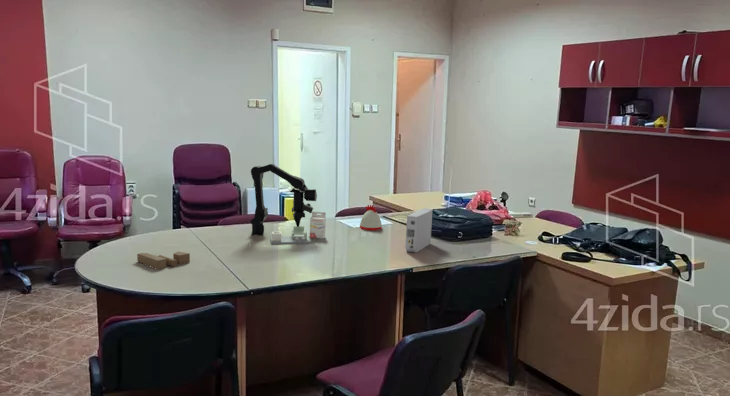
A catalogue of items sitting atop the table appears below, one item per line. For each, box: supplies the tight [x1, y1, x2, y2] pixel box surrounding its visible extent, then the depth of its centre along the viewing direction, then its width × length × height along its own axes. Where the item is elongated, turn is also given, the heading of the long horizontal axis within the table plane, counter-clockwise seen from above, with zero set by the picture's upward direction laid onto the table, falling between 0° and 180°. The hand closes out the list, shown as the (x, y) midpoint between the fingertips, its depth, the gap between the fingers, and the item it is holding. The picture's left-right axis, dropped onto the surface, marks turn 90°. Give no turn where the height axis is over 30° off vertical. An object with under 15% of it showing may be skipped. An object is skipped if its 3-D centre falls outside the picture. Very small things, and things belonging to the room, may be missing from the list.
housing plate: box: [270, 235, 309, 245], centre depth 305 cm, size 20×14×4 cm
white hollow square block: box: [271, 231, 282, 241], centre depth 302 cm, size 5×5×4 cm
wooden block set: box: [136, 251, 191, 270], centre depth 254 cm, size 17×6×18 cm
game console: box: [404, 207, 433, 254], centre depth 300 cm, size 6×27×20 cm, turn 155°
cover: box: [291, 225, 308, 240], centre depth 309 cm, size 8×7×6 cm
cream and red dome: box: [359, 204, 383, 231], centre depth 346 cm, size 14×14×15 cm
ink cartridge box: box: [309, 211, 327, 239], centre depth 315 cm, size 9×5×15 cm, turn 84°
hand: (297, 226), depth 317 cm, fingers closed
